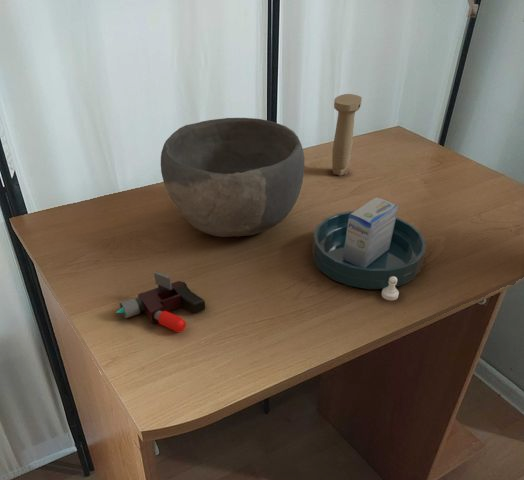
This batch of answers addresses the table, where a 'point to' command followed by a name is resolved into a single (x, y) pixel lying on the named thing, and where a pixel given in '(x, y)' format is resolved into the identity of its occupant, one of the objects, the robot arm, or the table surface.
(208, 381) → the table surface
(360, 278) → the teal bowl
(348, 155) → the handle
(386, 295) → the chess pawn
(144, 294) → the toy gun
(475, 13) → the robot arm
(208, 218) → the bowl
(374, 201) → the medicine box
